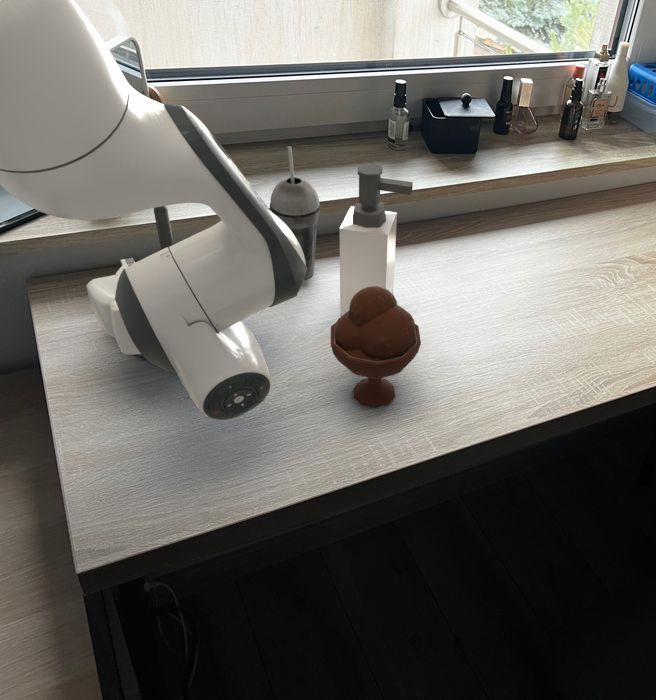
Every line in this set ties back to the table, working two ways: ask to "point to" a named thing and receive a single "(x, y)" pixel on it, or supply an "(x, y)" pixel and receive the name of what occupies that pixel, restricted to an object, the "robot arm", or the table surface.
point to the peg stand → (163, 227)
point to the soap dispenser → (369, 236)
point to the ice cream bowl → (375, 343)
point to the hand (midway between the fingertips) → (166, 256)
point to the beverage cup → (298, 212)
